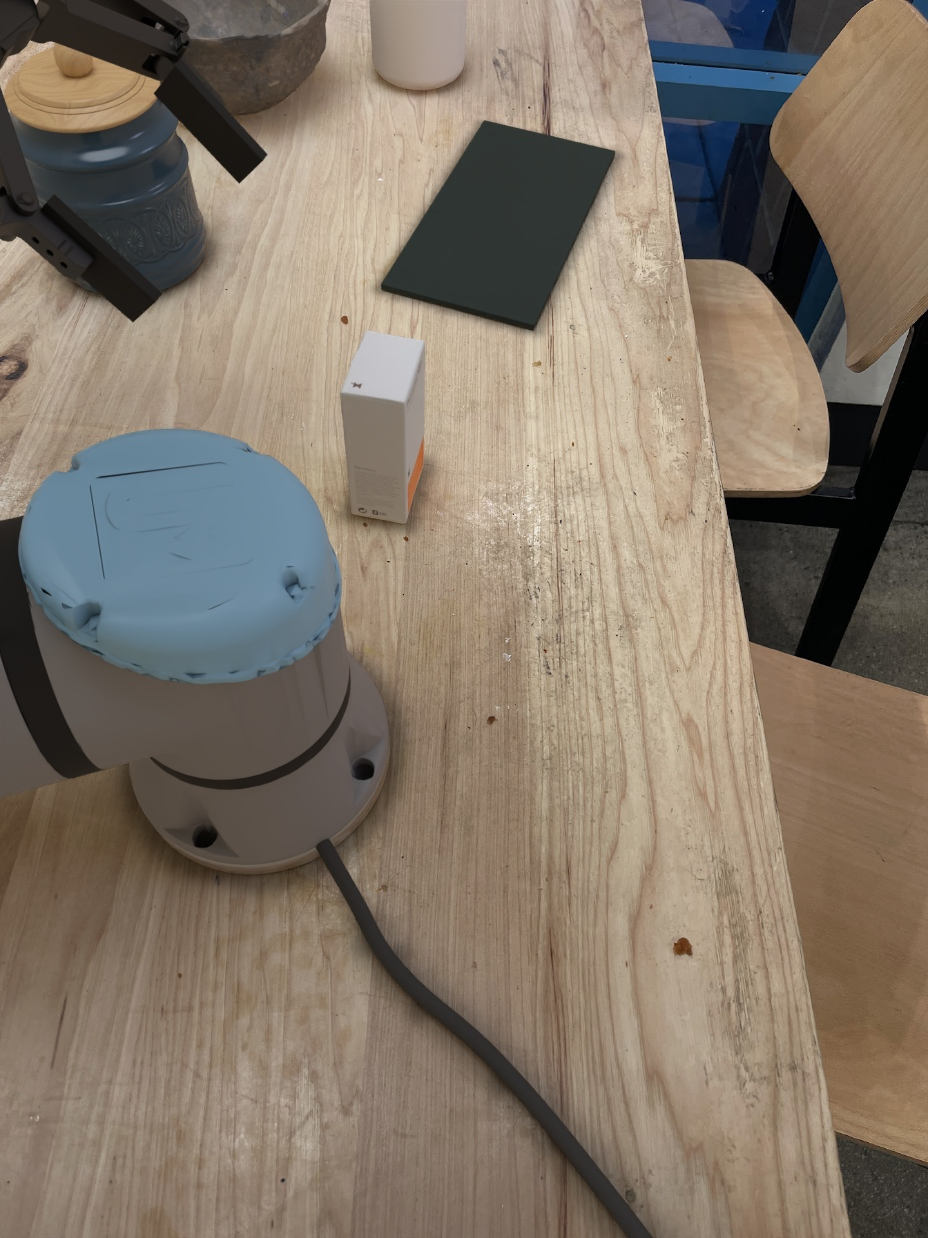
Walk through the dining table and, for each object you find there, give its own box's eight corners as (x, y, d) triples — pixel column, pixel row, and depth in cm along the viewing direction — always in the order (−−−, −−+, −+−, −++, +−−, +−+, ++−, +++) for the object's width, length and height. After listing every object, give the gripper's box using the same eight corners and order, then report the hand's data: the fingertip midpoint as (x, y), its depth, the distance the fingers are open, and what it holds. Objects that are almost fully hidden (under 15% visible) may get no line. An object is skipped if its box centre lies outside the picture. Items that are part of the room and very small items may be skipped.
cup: (463, 97, 94) (467, -9, 85) (369, 93, 94) (364, -14, 85) (464, 49, 99) (468, -56, 91) (375, 45, 99) (371, -61, 90)
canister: (36, 291, 75) (-61, 74, 60) (88, 201, 82) (13, -15, 67) (186, 308, 75) (126, 94, 60) (226, 216, 82) (181, 3, 67)
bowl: (184, 29, 99) (162, -78, 90) (362, 56, 97) (357, -50, 89) (108, 129, 88) (74, 18, 80) (307, 161, 87) (294, 52, 78)
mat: (533, 330, 75) (534, 324, 75) (380, 289, 77) (380, 283, 77) (614, 156, 89) (615, 150, 89) (483, 125, 91) (484, 119, 91)
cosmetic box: (407, 526, 64) (404, 404, 53) (350, 515, 64) (336, 392, 54) (426, 464, 67) (427, 338, 57) (371, 454, 67) (362, 327, 57)
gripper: (-34, -169, 49) (258, 151, 60) (-388, 48, 36) (64, 403, 47) (14, -287, 44) (324, 87, 55) (-380, -83, 31) (126, 350, 42)
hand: (204, 234), depth 51 cm, fingers open, 13 cm apart
